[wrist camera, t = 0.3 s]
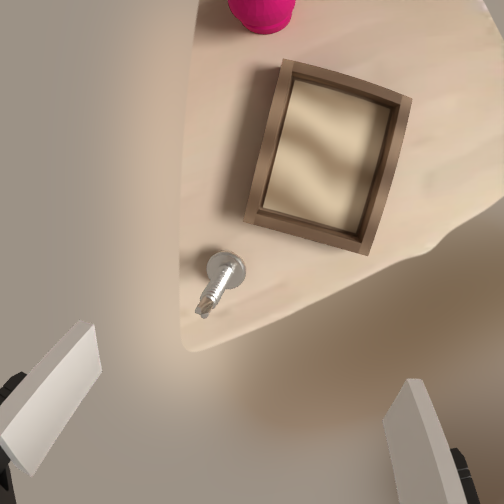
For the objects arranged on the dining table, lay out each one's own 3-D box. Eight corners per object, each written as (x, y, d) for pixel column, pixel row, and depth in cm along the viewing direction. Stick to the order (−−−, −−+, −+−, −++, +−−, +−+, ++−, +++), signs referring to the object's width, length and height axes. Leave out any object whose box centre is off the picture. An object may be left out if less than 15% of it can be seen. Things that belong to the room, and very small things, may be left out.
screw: (250, 281, 40) (213, 282, 41) (246, 245, 39) (208, 247, 40) (229, 337, 28) (180, 336, 29) (223, 290, 27) (170, 290, 28)
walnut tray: (284, 66, 32) (283, 58, 28) (402, 102, 31) (412, 98, 28) (247, 215, 38) (242, 221, 34) (362, 246, 37) (367, 256, 34)
